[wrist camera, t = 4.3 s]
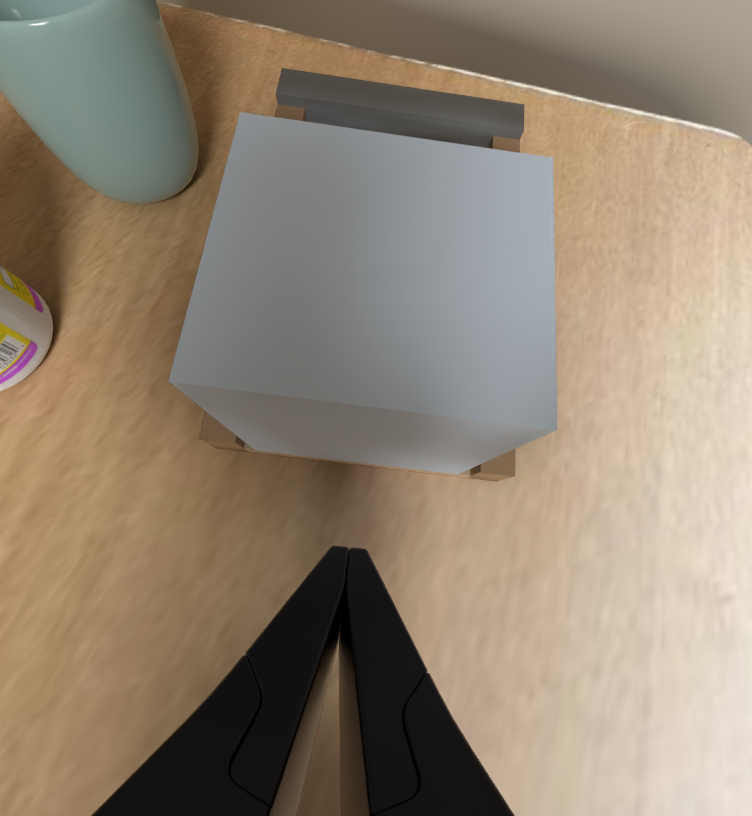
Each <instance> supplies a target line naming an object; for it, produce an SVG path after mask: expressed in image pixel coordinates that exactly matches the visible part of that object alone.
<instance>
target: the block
mask: <svg viewBox="0 0 752 816" xmlns="http://www.w3.org/2000/svg"><path fill="white" fill-rule="evenodd" d="M168 382H169V383H171V384H172V385H173V386H174V387H176V388H177V389H178V390H179V391H181V392H182V393H183V394H184V395H186V396H187V397H188V398H190V399H191V400H192V401H193V402H195V403H196V404H197V405H198V406H200V407H201V408H202V409H203V410H205V411H206V412H207V413H209V414H210V415H211V416H212V417H214V418H215V419H216V420H217V421H219V422H220V423H221V424H223V425H224V426H225V427H226V428H228V429H229V430H230V431H231V432H233V433H234V434H235V435H236V436H238V437H239V438H240V439H242V440H243V441H244V442H245V443H247V444H248V445H249V446H250V447H252V448H253V449H254V450H257V451H265V452H274V453H282V454H290V455H299V456H307V457H316V458H324V459H332V460H341V461H349V462H358V463H366V464H374V465H383V466H391V467H400V468H408V469H416V470H425V471H433V472H442V473H450V474H460V473H462V472H464V471H466V470H469V469H471V468H473V467H475V466H478V465H480V464H482V463H484V462H486V461H489V460H491V459H493V458H495V457H498V456H500V455H502V454H504V453H507V452H509V451H511V450H513V449H515V448H518V447H520V446H522V445H524V444H527V443H529V442H531V441H533V440H535V439H538V438H540V437H542V436H544V435H547V434H549V433H551V432H553V431H555V430H557V392H556V325H555V257H554V189H553V158H552V157H545V156H538V155H531V154H524V153H517V152H511V151H504V150H497V149H490V148H483V147H476V146H470V145H463V144H456V143H449V142H442V141H435V140H428V139H422V138H415V137H408V136H401V135H394V134H387V133H381V132H374V131H367V130H360V129H353V128H346V127H339V126H333V125H326V124H319V123H312V122H305V121H298V120H292V119H285V118H278V117H271V116H264V115H257V114H250V113H244V112H240V115H239V119H238V122H237V126H236V130H235V134H234V137H233V141H232V145H231V149H230V152H229V156H228V160H227V163H226V167H225V171H224V175H223V178H222V182H221V186H220V190H219V193H218V197H217V201H216V205H215V208H214V212H213V216H212V220H211V223H210V227H209V231H208V235H207V238H206V242H205V246H204V250H203V253H202V257H201V261H200V265H199V268H198V272H197V276H196V279H195V283H194V287H193V291H192V294H191V298H190V302H189V306H188V309H187V313H186V317H185V321H184V324H183V328H182V332H181V336H180V339H179V343H178V347H177V351H176V354H175V358H174V362H173V366H172V369H171V373H170V377H169V381H168Z"/></svg>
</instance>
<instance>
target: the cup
mask: <svg viewBox="0 0 752 816" xmlns="http://www.w3.org/2000/svg"><path fill="white" fill-rule="evenodd" d="M0 93H1V94H2V95H3V96H4V98H5V99H6V100H7V101H8V103H9V104H10V105H11V106H12V107H13V109H14V110H15V111H16V112H17V113H18V115H19V116H20V117H21V118H22V119H23V121H24V122H25V123H26V124H27V125H28V126H29V128H30V129H31V130H32V131H33V132H34V133H35V134H36V136H37V137H38V138H39V139H40V140H41V141H42V142H43V143H44V144H45V146H46V147H47V148H48V149H49V150H50V151H51V152H52V153H53V154H54V155H55V156H56V157H57V158H58V159H59V160H60V161H61V162H62V163H63V164H64V165H65V166H66V167H67V168H68V169H69V170H70V171H71V172H72V173H73V174H74V175H75V176H76V177H77V178H79V179H80V180H81V181H82V182H83V183H84V184H86V185H87V186H89V187H90V188H92V189H93V190H95V191H96V192H98V193H100V194H101V195H103V196H105V197H107V198H110V199H112V200H115V201H118V202H122V203H130V204H149V203H155V202H159V201H162V200H166V199H168V198H170V197H172V196H174V195H176V194H178V193H179V192H181V191H182V190H183V189H184V188H185V187H186V186H187V185H188V184H189V183H190V181H191V180H192V178H193V176H194V174H195V172H196V168H197V164H198V160H199V139H198V132H197V126H196V121H195V117H194V112H193V108H192V104H191V100H190V97H189V93H188V90H187V87H186V83H185V80H184V77H183V74H182V71H181V68H180V65H179V62H178V59H177V56H176V53H175V51H174V48H173V45H172V42H171V40H170V37H169V34H168V31H167V28H166V26H165V23H164V20H163V18H162V15H161V12H160V9H159V7H158V4H157V1H156V0H0Z"/></svg>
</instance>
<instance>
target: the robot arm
mask: <svg viewBox="0 0 752 816" xmlns="http://www.w3.org/2000/svg"><path fill="white" fill-rule="evenodd" d="M348 554H349V556H348ZM341 615H342V616H341ZM340 624H341V625H340ZM339 632H340V635H339ZM338 639H339V712H340V796H341V816H515V815H514V814H513V812H512V811H511V809H510V808H509V806H508V804H507V803H506V801H505V800H504V798H503V797H502V795H501V794H500V792H499V790H498V789H497V787H496V786H495V784H494V783H493V781H492V780H491V778H490V776H489V775H488V773H487V772H486V770H485V769H484V767H483V766H482V764H481V762H480V761H479V759H478V758H477V756H476V755H475V753H474V752H473V750H472V748H471V747H470V745H469V743H468V742H467V740H466V739H465V737H464V735H463V734H462V732H461V730H460V729H459V727H458V725H457V724H456V722H455V721H454V719H453V717H452V715H451V713H450V712H449V710H448V708H447V706H446V704H445V702H444V701H443V699H442V697H441V695H440V693H439V691H438V689H437V687H436V685H435V683H434V681H433V679H432V677H431V675H430V674H429V673H427V668H426V666H425V664H424V662H423V660H422V658H421V656H420V654H419V652H418V650H417V648H416V646H415V644H414V642H413V640H412V638H411V637H410V635H409V633H408V631H407V629H406V627H405V625H404V623H403V621H402V619H401V617H400V615H399V613H398V611H397V609H396V607H395V605H394V603H393V601H392V599H391V597H390V595H389V593H388V591H387V589H386V587H385V585H384V583H383V581H382V579H381V577H380V575H379V573H378V571H377V569H376V567H375V565H374V563H373V561H372V559H371V557H370V555H369V553H368V551H367V550H366V549H361V548H350V550H349V549H348V548H347V547H342V546H332V547H331V548H330V549H329V550H328V551H327V552H326V554H325V555H324V556H323V557H322V559H321V560H320V561H319V562H318V564H317V565H316V566H315V567H314V569H313V570H312V571H311V572H310V574H309V575H308V576H307V577H306V579H305V580H304V581H303V582H302V583H301V585H300V586H299V587H298V588H297V590H296V591H295V592H294V593H293V595H292V596H291V597H290V598H289V600H288V601H287V602H286V603H285V605H284V606H283V607H282V608H281V610H280V611H279V612H278V613H277V615H276V616H275V617H274V618H273V619H272V621H271V622H270V623H269V624H268V626H267V627H266V628H265V629H264V631H263V632H262V633H261V634H260V636H259V637H258V638H257V639H256V641H255V642H254V643H253V644H252V646H251V647H250V648H249V649H248V650H247V652H246V655H243V656H242V657H241V658H240V660H239V661H238V662H237V663H236V665H235V666H234V667H233V668H232V670H231V671H230V672H229V673H228V674H227V676H226V677H225V678H224V679H223V680H222V681H221V683H220V684H219V685H218V686H217V687H216V688H215V690H214V691H213V692H212V693H211V694H210V695H209V696H208V698H207V699H206V700H205V701H204V702H203V703H202V704H201V705H200V706H199V707H198V708H197V709H196V710H195V711H194V712H193V713H192V714H191V715H190V716H189V718H188V719H187V720H186V721H185V722H184V723H183V724H182V725H181V726H180V727H179V728H178V729H177V730H176V731H175V732H174V733H173V734H172V735H171V736H170V737H169V738H168V739H167V740H166V741H165V742H164V743H163V744H162V745H161V746H160V747H159V748H158V749H157V750H156V751H155V752H154V753H153V754H152V755H151V756H150V757H149V758H148V759H147V760H146V761H145V762H144V763H143V764H142V765H141V766H140V767H139V768H138V769H137V770H136V771H135V772H134V773H133V774H132V775H131V776H130V777H129V778H128V779H127V780H126V781H125V782H124V783H123V784H122V785H121V786H120V787H119V788H118V789H117V790H116V791H115V792H114V793H113V794H112V795H111V796H110V797H109V798H108V799H107V800H106V801H105V802H104V803H103V804H102V805H101V806H100V807H99V808H98V809H97V810H96V811H95V812H94V813H93V814H92V815H91V816H297V811H298V807H299V803H300V799H301V795H302V791H303V787H304V782H305V778H306V774H307V770H308V766H309V762H310V757H311V753H312V749H313V745H314V741H315V737H316V733H317V728H318V724H319V720H320V716H321V712H322V708H323V703H324V699H325V695H326V691H327V687H328V683H329V679H330V674H331V670H332V666H333V662H334V658H335V654H336V649H337V644H338Z"/></svg>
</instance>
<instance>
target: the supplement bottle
mask: <svg viewBox="0 0 752 816" xmlns="http://www.w3.org/2000/svg"><path fill="white" fill-rule="evenodd" d="M52 335H53V321H52V316H51V313H50V310H49V308H48V306H47V304H46V303H45V301H44V300H43V298H42V297H41V296H40V295H39V294H38V293H37V292H36V291H35V290H33V289H32V288H31V287H30V286H28V285H27V284H26V283H24V282H23V281H22V280H20V279H19V278H18V277H16V276H15V275H14V274H12V273H11V272H9V271H8V270H7V269H5V268H4V267H3V266H1V265H0V391H3V390H5V389H8V388H10V387H12V386H14V385H15V384H17V383H19V382H20V381H22V380H23V379H25V378H26V377H27V376H28V375H30V374H31V373H32V372H33V371H34V370H35V369H36V368H37V367H38V366H39V364H40V363H41V362H42V360H43V359H44V357H45V355H46V353H47V351H48V349H49V346H50V344H51V340H52Z"/></svg>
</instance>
